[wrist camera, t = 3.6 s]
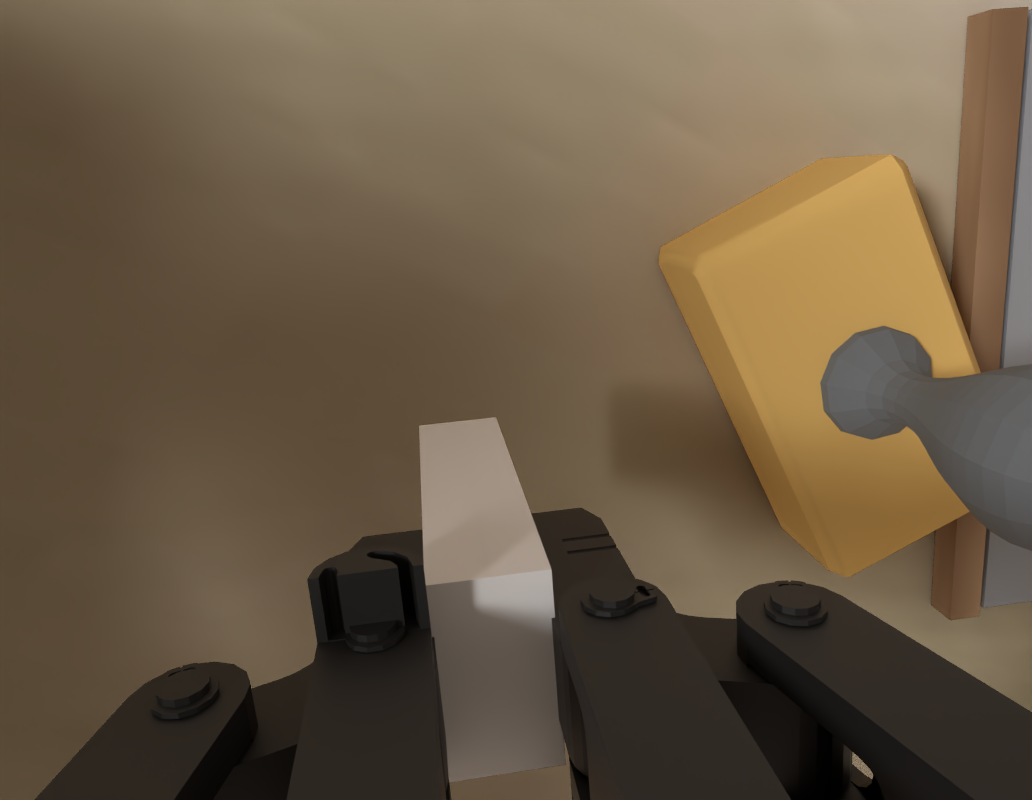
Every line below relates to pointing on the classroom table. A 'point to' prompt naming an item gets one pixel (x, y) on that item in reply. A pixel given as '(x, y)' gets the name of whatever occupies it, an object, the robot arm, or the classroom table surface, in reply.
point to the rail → (982, 253)
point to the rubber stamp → (853, 365)
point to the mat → (1015, 345)
